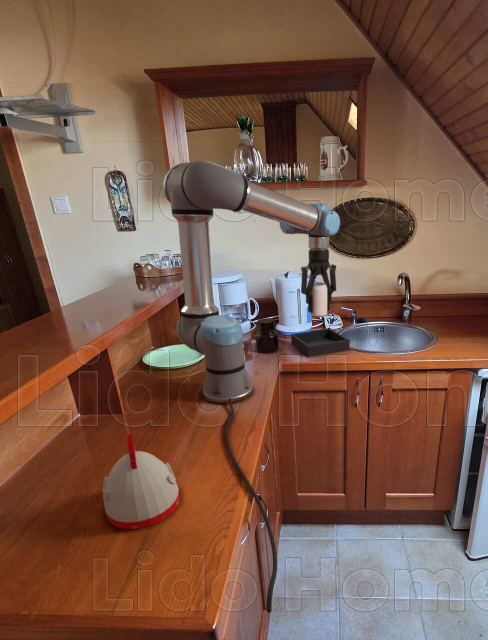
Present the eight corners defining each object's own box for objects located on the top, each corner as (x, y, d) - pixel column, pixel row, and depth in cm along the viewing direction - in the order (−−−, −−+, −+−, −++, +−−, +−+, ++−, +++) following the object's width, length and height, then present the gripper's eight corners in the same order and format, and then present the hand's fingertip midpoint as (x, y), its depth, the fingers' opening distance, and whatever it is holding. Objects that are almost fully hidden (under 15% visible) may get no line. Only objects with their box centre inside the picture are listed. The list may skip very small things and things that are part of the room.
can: (314, 312, 167) (313, 281, 162) (329, 313, 165) (329, 282, 160) (308, 316, 162) (307, 284, 157) (323, 317, 160) (323, 285, 155)
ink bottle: (283, 347, 169) (282, 318, 164) (272, 354, 162) (271, 324, 157) (263, 344, 173) (261, 316, 168) (251, 351, 166) (249, 322, 161)
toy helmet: (175, 476, 92) (164, 416, 86) (184, 516, 81) (172, 450, 74) (107, 493, 88) (90, 430, 81) (105, 538, 76) (86, 469, 70)
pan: (349, 349, 165) (349, 339, 163) (308, 356, 159) (308, 346, 157) (329, 337, 180) (329, 328, 178) (291, 343, 173) (291, 334, 172)
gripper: (337, 246, 160) (336, 306, 169) (290, 249, 153) (292, 311, 163) (347, 248, 154) (345, 310, 163) (298, 251, 147) (299, 316, 156)
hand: (318, 310), depth 163 cm, fingers closed on can, 6 cm apart
